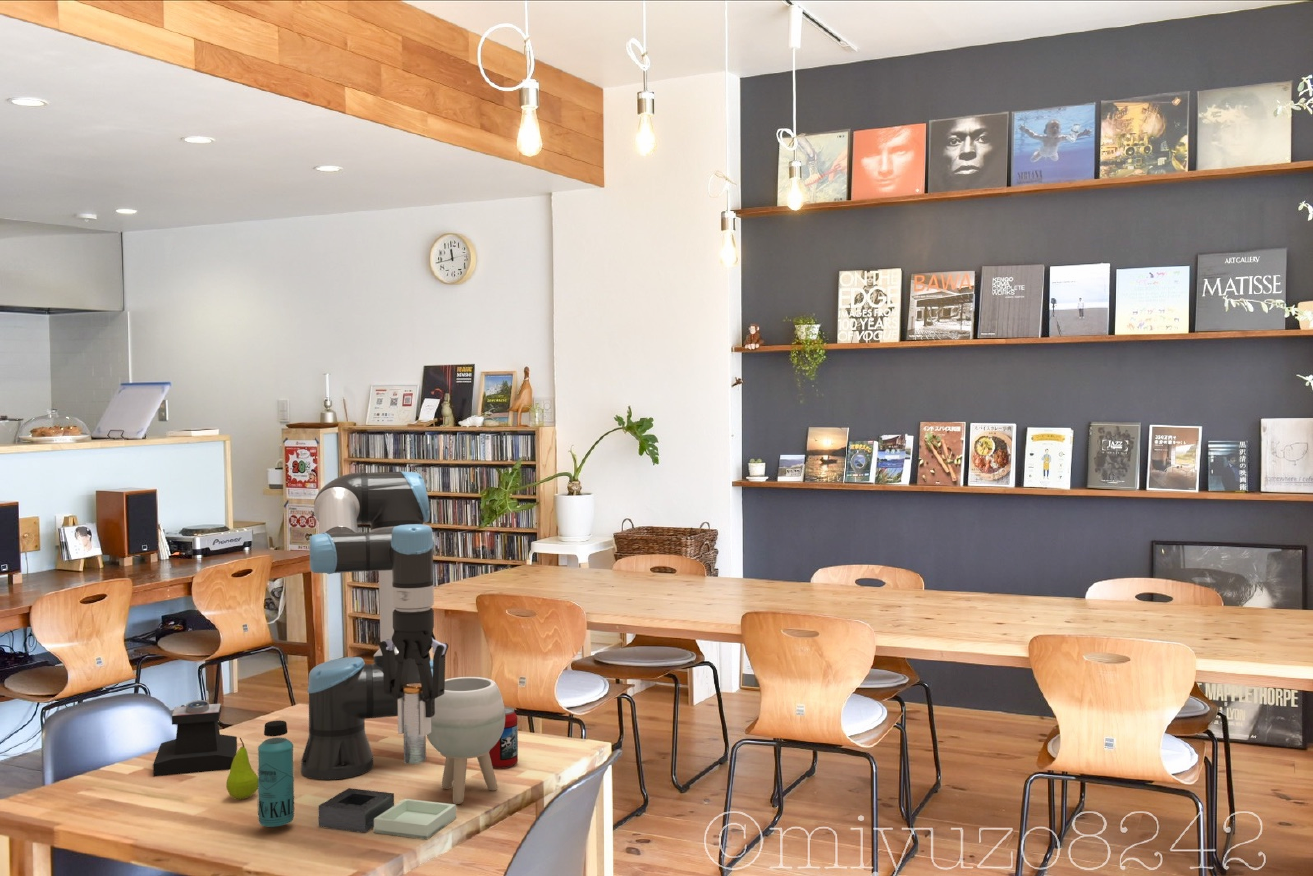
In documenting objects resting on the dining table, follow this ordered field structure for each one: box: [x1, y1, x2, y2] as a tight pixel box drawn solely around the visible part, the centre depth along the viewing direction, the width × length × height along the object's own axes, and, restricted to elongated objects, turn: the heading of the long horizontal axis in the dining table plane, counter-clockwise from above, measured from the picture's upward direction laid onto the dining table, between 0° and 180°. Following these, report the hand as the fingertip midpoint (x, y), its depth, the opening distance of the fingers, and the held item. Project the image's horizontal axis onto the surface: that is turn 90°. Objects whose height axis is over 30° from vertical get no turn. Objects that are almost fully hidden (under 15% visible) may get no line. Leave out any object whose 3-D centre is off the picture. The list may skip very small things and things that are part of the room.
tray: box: [373, 798, 457, 841], centre depth 209 cm, size 11×11×3 cm
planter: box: [426, 676, 505, 805], centre depth 225 cm, size 16×16×22 cm
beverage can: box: [489, 706, 519, 769], centre depth 244 cm, size 7×7×12 cm
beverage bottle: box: [257, 719, 295, 828], centre depth 207 cm, size 6×7×20 cm
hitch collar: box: [318, 787, 395, 834], centre depth 211 cm, size 10×10×4 cm
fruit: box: [226, 737, 258, 801], centre depth 224 cm, size 6×6×12 cm
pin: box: [403, 683, 427, 765], centre depth 208 cm, size 4×4×14 cm
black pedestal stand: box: [152, 699, 238, 778], centre depth 246 cm, size 16×14×15 cm
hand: (414, 732), depth 208 cm, fingers closed on pin, 4 cm apart
